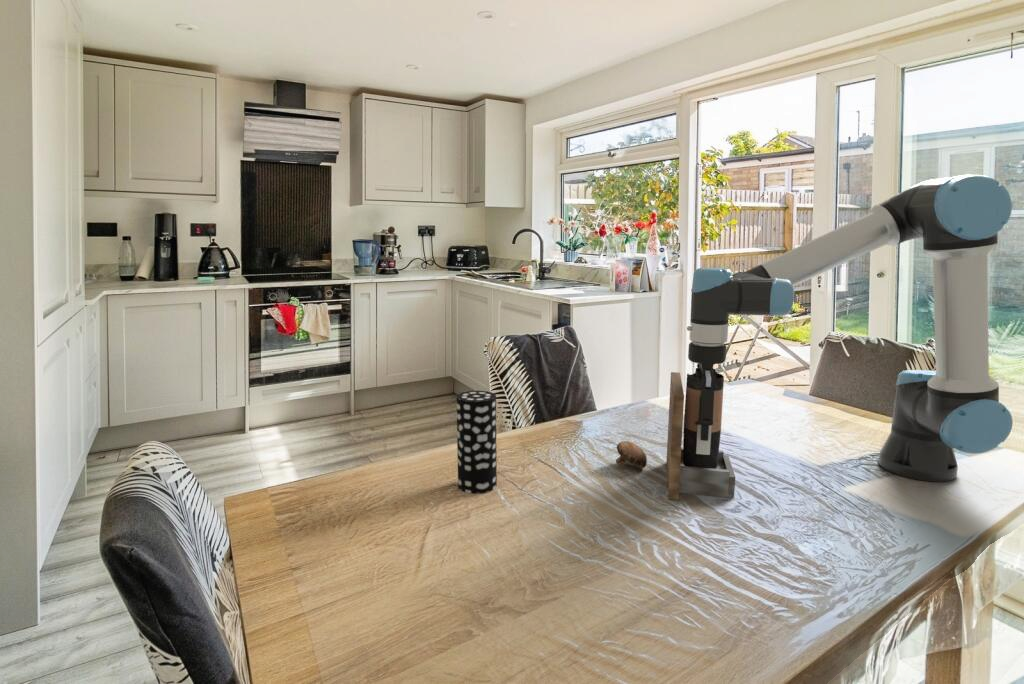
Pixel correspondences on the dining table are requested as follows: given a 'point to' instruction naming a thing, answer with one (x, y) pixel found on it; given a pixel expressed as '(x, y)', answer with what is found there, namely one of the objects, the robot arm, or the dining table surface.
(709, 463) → the travel mug
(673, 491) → the l-shaped stand
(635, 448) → the mushroom
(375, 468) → the dining table surface
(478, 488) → the white-spotted black cylinder
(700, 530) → the dining table surface
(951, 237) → the robot arm
